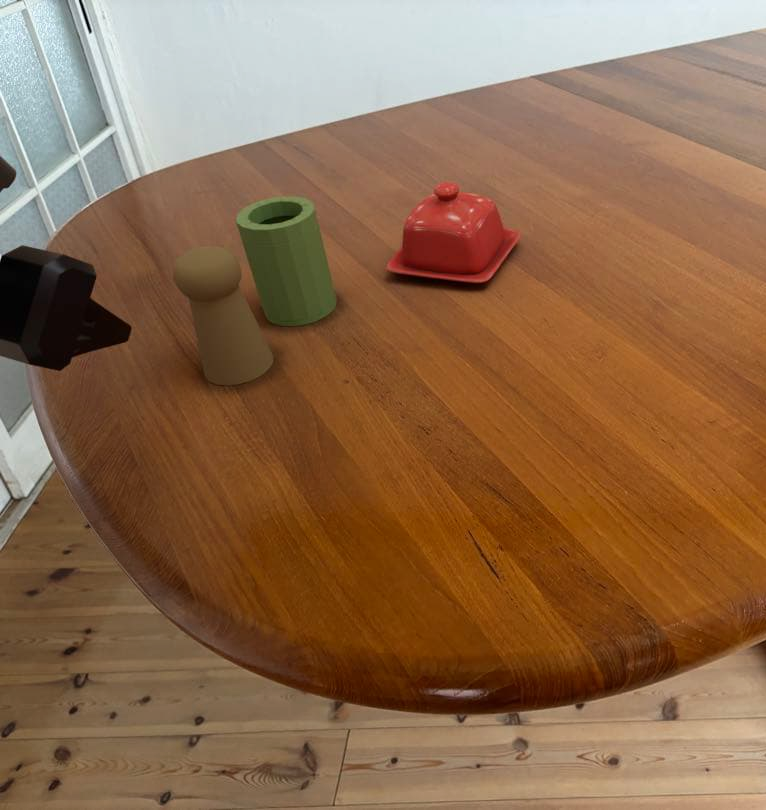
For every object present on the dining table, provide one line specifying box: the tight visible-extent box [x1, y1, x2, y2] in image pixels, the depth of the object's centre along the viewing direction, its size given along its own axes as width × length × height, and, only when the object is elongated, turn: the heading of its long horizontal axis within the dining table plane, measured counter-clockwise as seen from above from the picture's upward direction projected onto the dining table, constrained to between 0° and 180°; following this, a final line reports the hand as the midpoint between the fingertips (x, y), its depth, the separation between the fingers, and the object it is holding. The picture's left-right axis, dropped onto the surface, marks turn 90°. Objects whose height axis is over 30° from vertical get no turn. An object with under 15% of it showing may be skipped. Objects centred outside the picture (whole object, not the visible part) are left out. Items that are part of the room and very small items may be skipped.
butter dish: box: [385, 181, 521, 284], centre depth 83 cm, size 12×12×8 cm
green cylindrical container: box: [235, 196, 338, 327], centre depth 77 cm, size 7×7×10 cm
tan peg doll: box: [172, 245, 275, 387], centre depth 69 cm, size 6×6×11 cm
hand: (79, 320), depth 55 cm, fingers open, 9 cm apart
